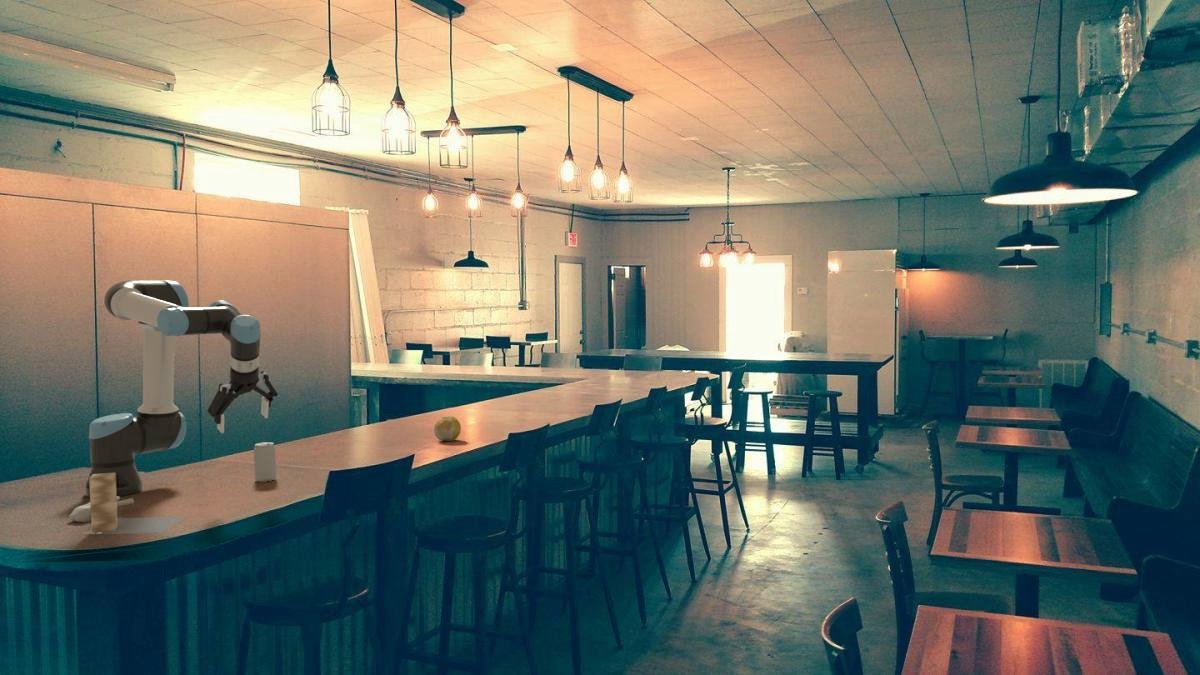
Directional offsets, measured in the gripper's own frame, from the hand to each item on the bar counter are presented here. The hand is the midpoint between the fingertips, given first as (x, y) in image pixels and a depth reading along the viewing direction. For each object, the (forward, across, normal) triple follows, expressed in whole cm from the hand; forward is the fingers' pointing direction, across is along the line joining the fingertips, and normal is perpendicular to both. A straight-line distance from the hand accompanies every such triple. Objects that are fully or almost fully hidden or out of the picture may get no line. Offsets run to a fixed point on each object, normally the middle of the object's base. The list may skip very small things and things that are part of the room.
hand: (242, 423), depth 251 cm
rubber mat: (+6, -38, -18) cm, 43 cm away
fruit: (+48, +88, +2) cm, 100 cm away
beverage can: (+28, +8, 0) cm, 29 cm away
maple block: (+5, -45, -16) cm, 47 cm away
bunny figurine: (+15, -41, -2) cm, 44 cm away
